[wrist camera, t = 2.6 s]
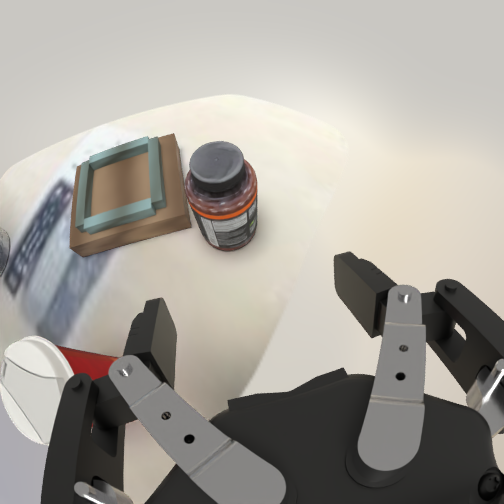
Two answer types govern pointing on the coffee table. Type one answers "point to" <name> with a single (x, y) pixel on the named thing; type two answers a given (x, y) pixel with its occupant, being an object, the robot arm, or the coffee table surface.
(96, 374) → the paper cup
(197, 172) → the supplement bottle
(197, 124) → the coffee table surface
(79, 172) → the walnut foundation
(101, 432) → the robot arm
